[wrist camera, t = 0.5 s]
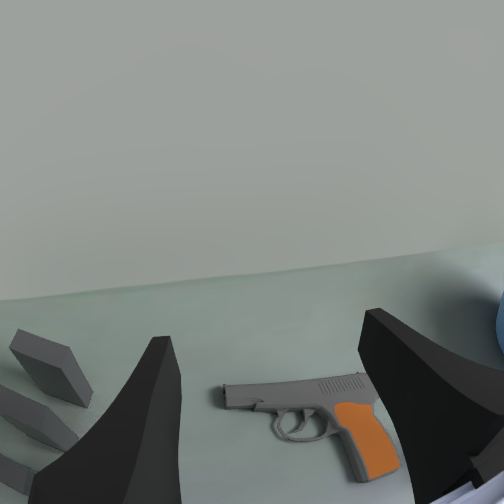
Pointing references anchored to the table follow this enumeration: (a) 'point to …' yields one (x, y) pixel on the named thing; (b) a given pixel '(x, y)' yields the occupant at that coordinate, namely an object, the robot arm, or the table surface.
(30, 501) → the robot arm
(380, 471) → the handgun
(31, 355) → the domino end
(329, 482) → the table surface
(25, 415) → the domino
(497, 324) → the planter
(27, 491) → the domino
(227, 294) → the table surface
